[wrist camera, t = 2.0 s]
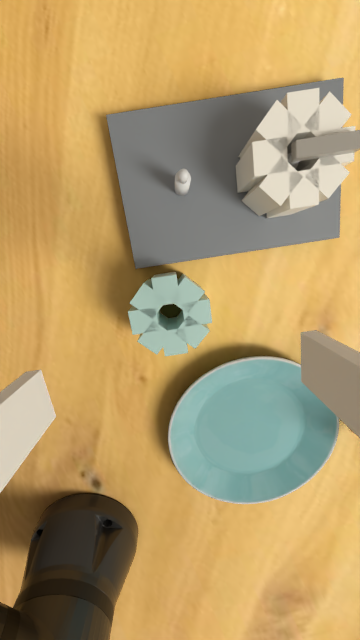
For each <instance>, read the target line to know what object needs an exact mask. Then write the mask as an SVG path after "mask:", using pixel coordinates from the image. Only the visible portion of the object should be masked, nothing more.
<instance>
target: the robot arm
mask: <svg viewBox="0 0 360 640" xmlns="http://www.w3.org/2000/svg"><path fill="white" fill-rule="evenodd" d="M301 382H302V383H303V384H304V385H305V386H306V387H307V388H308V389H309V390H310V391H311V392H313V393H314V394H315V395H316V396H317V397H318V398H319V399H320V400H321V401H322V402H323V403H324V404H325V405H326V406H327V407H328V408H329V409H330V410H331V411H332V412H333V413H334V414H335V415H336V416H337V417H338V418H339V419H340V420H342V421H343V422H344V423H345V424H346V425H347V426H348V427H349V428H350V429H351V430H352V431H353V432H354V433H355V434H356V435H357V436H358V437H359V438H360V352H358V351H356V350H354V349H352V348H350V347H348V346H346V345H344V344H342V343H340V342H338V341H336V340H334V339H332V338H330V337H328V336H326V335H324V334H323V333H321V332H319V331H317V330H314V331H307V332H301ZM55 417H56V415H55V412H54V408H53V405H52V402H51V399H50V396H49V393H48V390H47V387H46V384H45V381H44V377H43V374H42V371H41V370H35V371H28V372H25V373H24V374H23V375H21V376H20V377H19V378H17V379H16V380H15V381H14V382H12V383H11V384H10V385H9V386H7V387H6V388H5V389H3V390H2V391H1V392H0V493H1V491H2V490H3V489H4V487H5V486H6V485H7V483H8V482H9V480H10V479H11V478H12V476H13V475H14V474H15V472H16V471H17V469H18V468H19V467H20V465H21V464H22V463H23V461H24V460H25V458H26V457H27V456H28V454H29V453H30V452H31V450H32V449H33V447H34V446H35V445H36V443H37V442H38V441H39V439H40V438H41V437H42V435H43V434H44V432H45V431H46V430H47V428H48V427H49V426H50V424H51V423H52V421H53V420H54V419H55ZM137 538H138V526H137V523H136V520H135V518H134V517H133V515H132V514H131V512H130V511H129V510H128V509H127V508H126V507H124V506H123V505H122V504H120V503H119V502H117V501H115V500H113V499H110V498H108V497H104V496H100V495H95V494H77V495H72V496H68V497H65V498H62V499H60V500H58V501H56V502H54V503H53V504H52V505H50V506H49V507H48V508H47V509H46V510H45V511H44V513H43V514H42V516H41V518H40V520H39V522H38V524H37V526H36V528H35V530H34V533H33V535H32V539H31V543H30V548H29V553H28V557H27V562H26V567H25V572H24V577H23V581H22V586H21V590H20V593H19V595H18V598H17V600H16V602H15V604H14V606H13V608H11V607H9V606H7V605H5V604H3V603H1V602H0V640H109V639H110V633H111V626H112V620H113V615H114V609H115V605H116V602H117V599H118V597H119V594H120V592H121V589H122V587H123V584H124V582H125V579H126V577H127V574H128V572H129V569H130V567H131V564H132V562H133V559H134V556H135V552H136V546H137Z"/></svg>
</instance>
